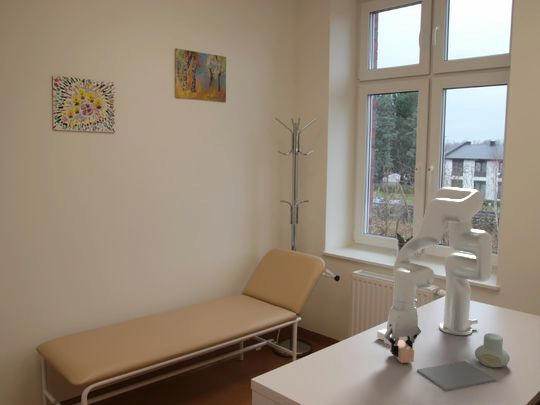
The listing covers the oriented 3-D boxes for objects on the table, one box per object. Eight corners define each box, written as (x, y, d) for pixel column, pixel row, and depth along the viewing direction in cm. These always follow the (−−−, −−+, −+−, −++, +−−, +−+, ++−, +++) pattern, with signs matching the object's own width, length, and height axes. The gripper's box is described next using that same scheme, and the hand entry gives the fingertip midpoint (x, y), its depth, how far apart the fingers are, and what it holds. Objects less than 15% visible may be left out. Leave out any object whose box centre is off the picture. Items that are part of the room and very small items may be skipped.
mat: (464, 362, 173) (464, 360, 173) (496, 380, 160) (496, 379, 160) (417, 371, 166) (417, 369, 166) (445, 391, 153) (446, 389, 153)
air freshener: (509, 363, 173) (512, 335, 172) (507, 372, 166) (509, 344, 164) (476, 355, 178) (478, 329, 177) (472, 364, 171) (474, 336, 170)
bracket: (400, 332, 199) (401, 314, 198) (414, 339, 193) (415, 320, 192) (377, 339, 192) (377, 320, 191) (390, 346, 186) (391, 326, 185)
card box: (401, 350, 179) (402, 339, 178) (413, 361, 170) (414, 350, 170) (390, 351, 178) (390, 340, 178) (401, 362, 169) (401, 351, 169)
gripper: (417, 297, 178) (415, 346, 181) (376, 303, 172) (374, 353, 174) (431, 304, 171) (428, 354, 174) (389, 310, 165) (387, 362, 167)
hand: (401, 353), depth 174 cm, fingers closed on card box, 5 cm apart
